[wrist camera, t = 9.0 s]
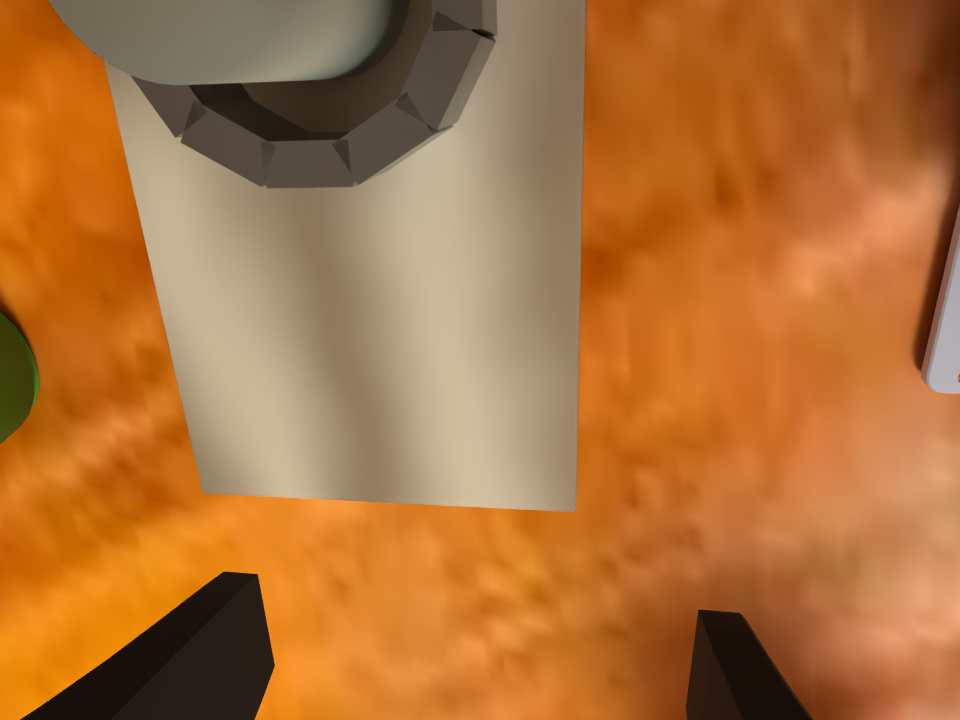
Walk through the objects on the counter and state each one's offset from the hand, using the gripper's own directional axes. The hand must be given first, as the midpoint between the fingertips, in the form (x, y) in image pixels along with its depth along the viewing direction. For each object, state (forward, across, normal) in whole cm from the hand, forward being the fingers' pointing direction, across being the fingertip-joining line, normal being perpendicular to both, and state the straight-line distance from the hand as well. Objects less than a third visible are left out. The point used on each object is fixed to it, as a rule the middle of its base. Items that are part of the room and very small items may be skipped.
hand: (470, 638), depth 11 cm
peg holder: (+10, +4, -7) cm, 13 cm away
